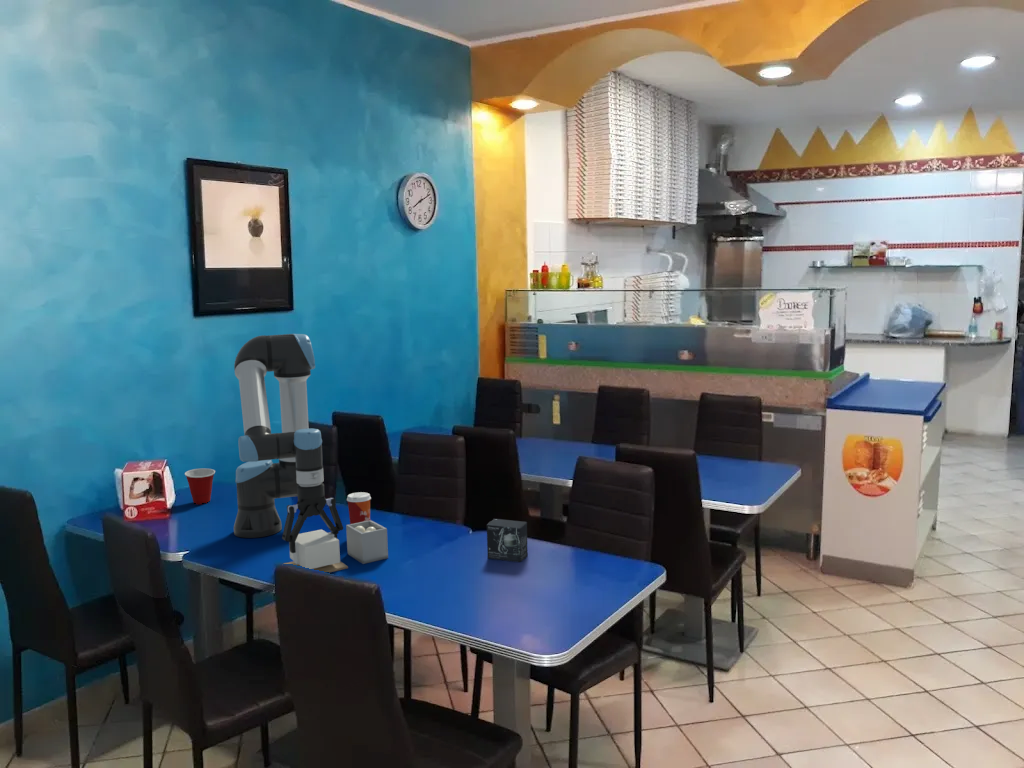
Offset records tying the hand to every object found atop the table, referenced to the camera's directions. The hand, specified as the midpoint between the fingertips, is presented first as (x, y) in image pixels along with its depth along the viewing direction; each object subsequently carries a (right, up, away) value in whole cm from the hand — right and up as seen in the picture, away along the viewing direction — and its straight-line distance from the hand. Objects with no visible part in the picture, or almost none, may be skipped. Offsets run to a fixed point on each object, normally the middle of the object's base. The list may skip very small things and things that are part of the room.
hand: (314, 559), depth 238 cm
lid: (0, 0, 0) cm, 0 cm away
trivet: (0, -2, 0) cm, 2 cm away
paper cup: (+8, +1, +27) cm, 28 cm away
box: (+55, -1, +4) cm, 56 cm away
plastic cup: (-60, +5, +74) cm, 95 cm away
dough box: (+14, -1, +8) cm, 16 cm away
